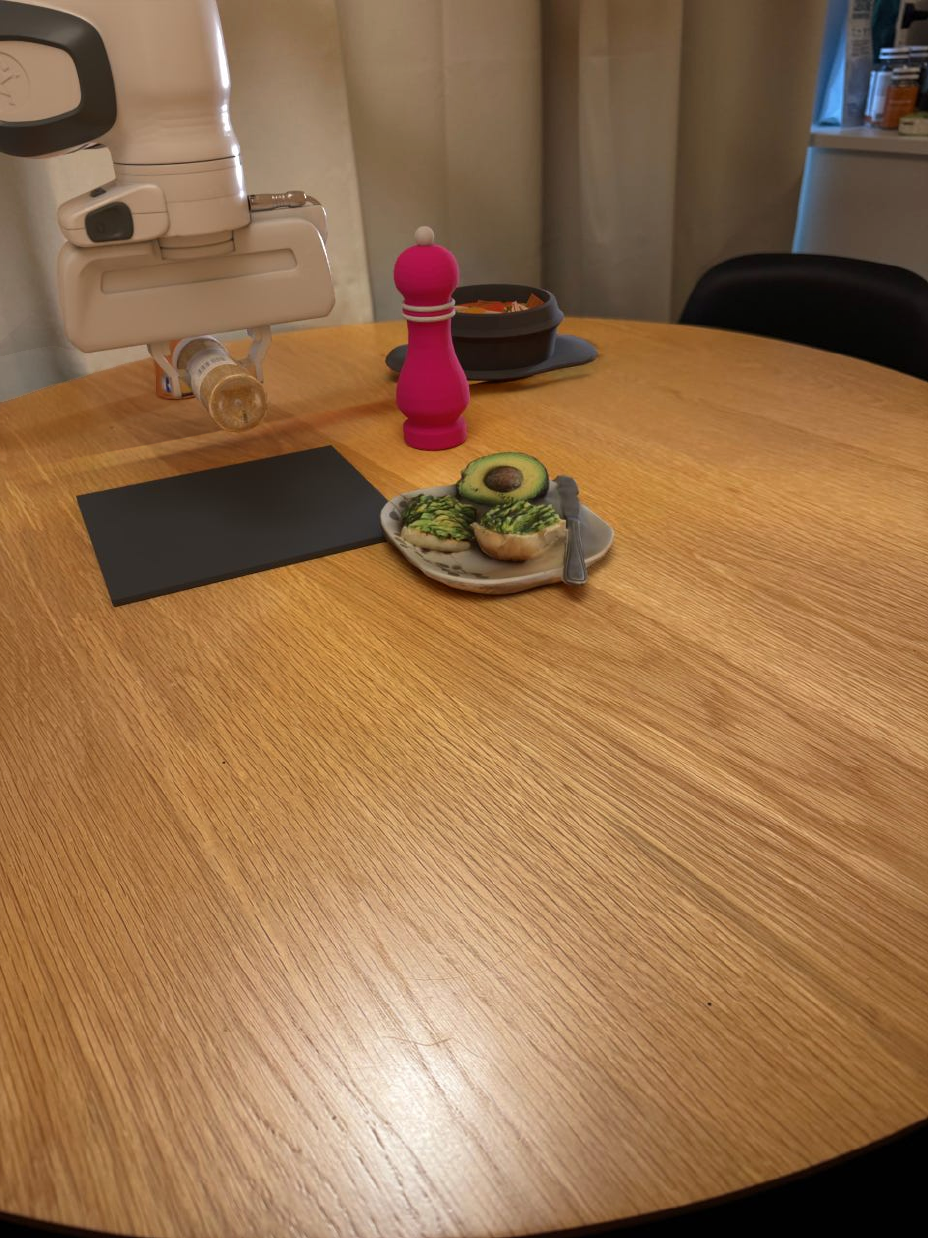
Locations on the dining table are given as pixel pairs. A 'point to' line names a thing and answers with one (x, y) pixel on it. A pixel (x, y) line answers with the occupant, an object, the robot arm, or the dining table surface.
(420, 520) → the avocado toast plate
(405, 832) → the dining table surface
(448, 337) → the pepper mill
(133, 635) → the dining table surface
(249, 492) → the slate mat
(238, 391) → the spice jar
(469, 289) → the casserole
